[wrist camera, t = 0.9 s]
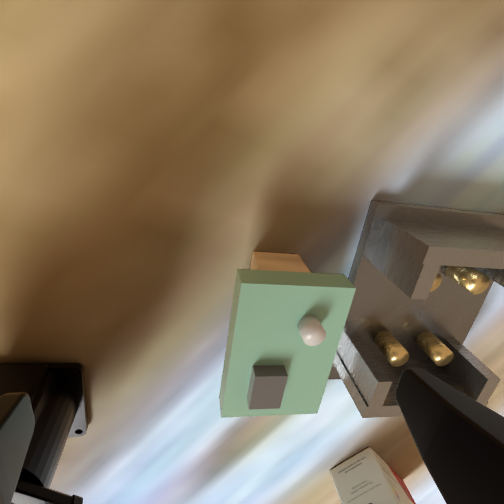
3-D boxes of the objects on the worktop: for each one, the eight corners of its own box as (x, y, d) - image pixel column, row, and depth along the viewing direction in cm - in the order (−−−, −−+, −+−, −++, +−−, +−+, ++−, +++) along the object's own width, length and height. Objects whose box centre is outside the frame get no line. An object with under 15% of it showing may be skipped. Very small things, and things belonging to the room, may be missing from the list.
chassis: (439, 369, 28) (486, 420, 24) (320, 371, 26) (347, 428, 22) (514, 215, 23) (592, 243, 18) (371, 200, 21) (421, 228, 16)
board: (309, 394, 22) (323, 427, 20) (219, 396, 21) (222, 433, 18) (343, 274, 18) (365, 298, 16) (237, 268, 17) (244, 294, 15)
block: (276, 351, 24) (289, 389, 21) (236, 351, 24) (243, 390, 21) (298, 254, 21) (316, 281, 18) (252, 251, 21) (264, 278, 18)
